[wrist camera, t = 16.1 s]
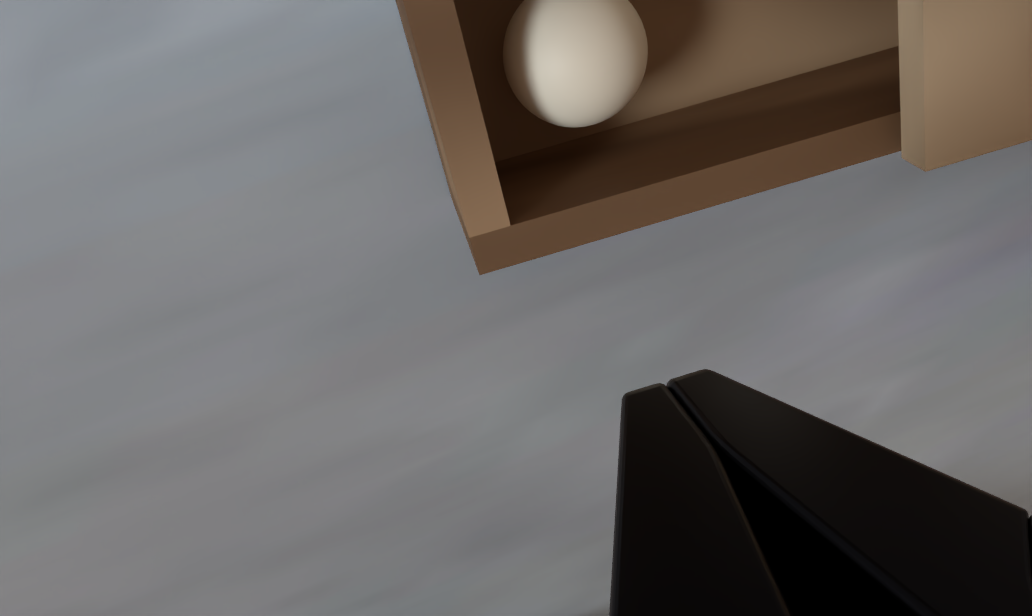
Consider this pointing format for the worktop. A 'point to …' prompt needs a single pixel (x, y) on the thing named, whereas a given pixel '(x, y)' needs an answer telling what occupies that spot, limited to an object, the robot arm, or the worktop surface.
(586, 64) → the ball
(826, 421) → the robot arm
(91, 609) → the worktop surface
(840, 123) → the walnut box
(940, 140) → the lid
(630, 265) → the worktop surface
